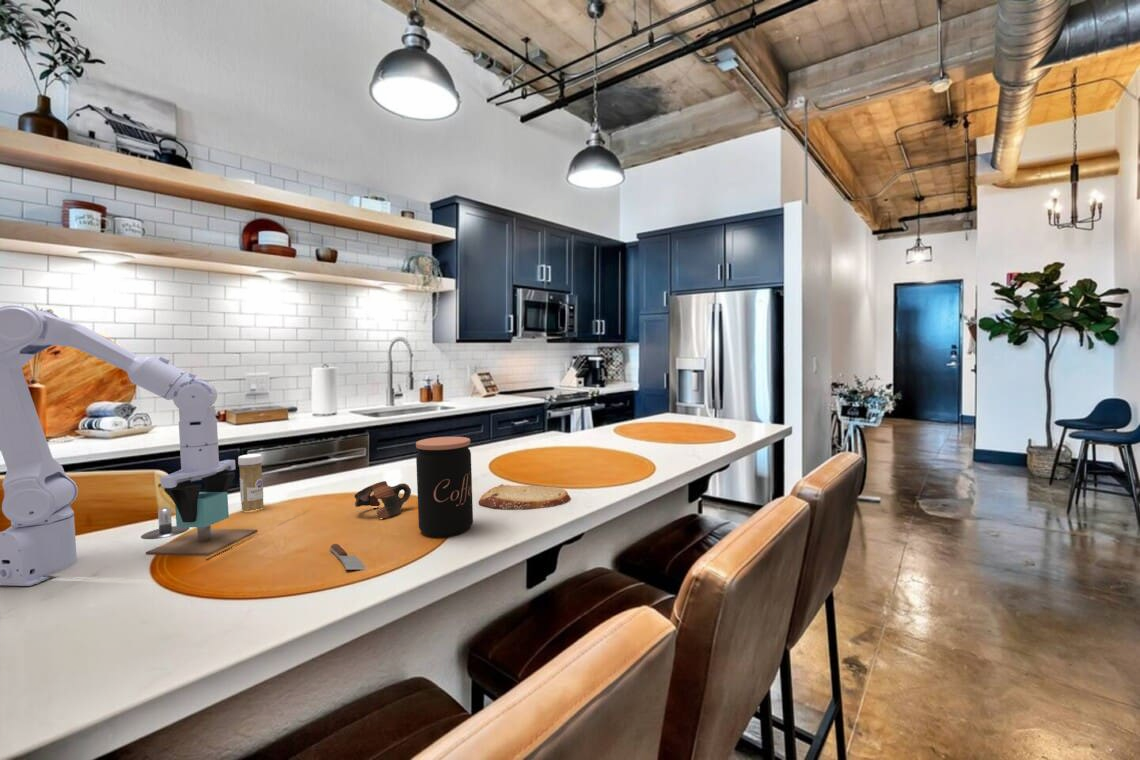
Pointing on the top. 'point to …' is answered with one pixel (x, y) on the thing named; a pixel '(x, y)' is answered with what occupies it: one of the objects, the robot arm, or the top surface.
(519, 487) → the slice of bread
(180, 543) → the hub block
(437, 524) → the coffee jar
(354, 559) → the cleaver
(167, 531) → the round base with peg
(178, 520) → the teal collar
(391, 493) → the pottery mug
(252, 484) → the sprinkles bottle
